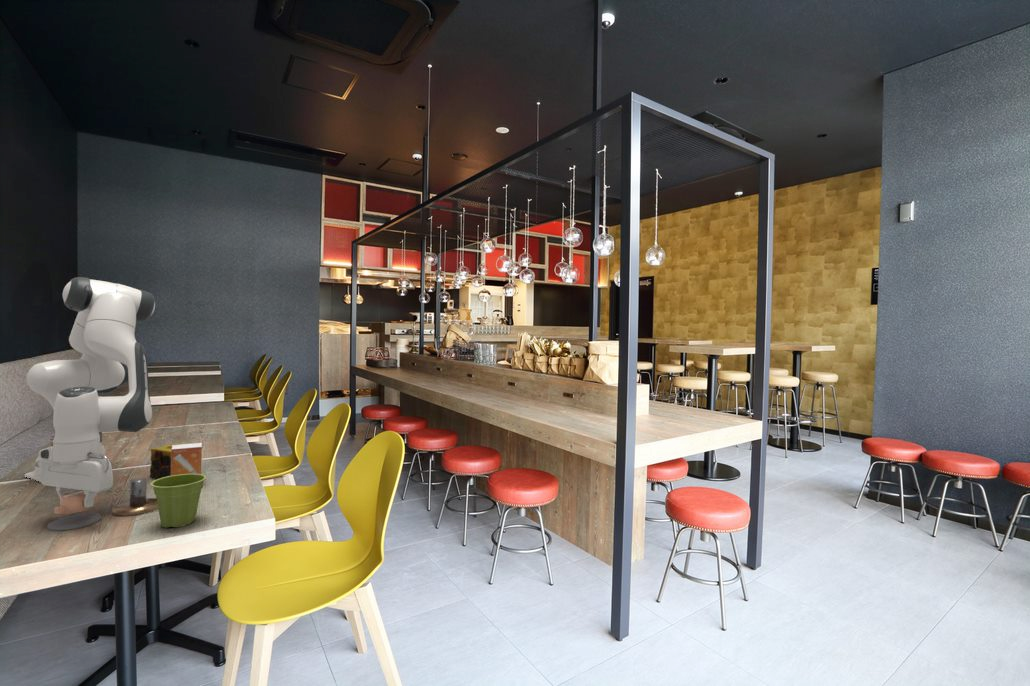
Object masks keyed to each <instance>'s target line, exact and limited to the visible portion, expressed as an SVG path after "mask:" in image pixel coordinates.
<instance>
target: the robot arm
mask: <svg viewBox="0 0 1030 686" xmlns="http://www.w3.org/2000/svg"><path fill="white" fill-rule="evenodd" d="M62 299H63V304H64V305H65V307H66V308H68V309H69V310H72V311H74V312H77V314H76V318H75V320H74V324H73V326H72V329H71V331H70V334H69V336H68V342H69V344H70V347H71V348H73V349H74V350H75V351H76V352H78V353H80V354H82V355H81V357H80V358H78V359H55V360H53V359H52V360H49V361H44V362H39V363H35V364H34V365H32V366H31V367H30V369H29V370H28V372H27V374H26V383H27V386H28V387H29V388H30V389H31V391H33V392H34V393H36V394H38V395H40V396H42V397H43V398H45V400H46V401H48V403H49V405H50V406H51V409H52V410H53V415H52V417H53V418H52V421H53V422H52V425H53V428H54V433H55V434H54V435H52V436H50V437H49V438H51V439H49V440H50V441H51V443H50V446H49V447H46V448H45V447H44V448H43V449H40V450H39V451H38V456H37V458H35V462H34V470H32V471H29V472H26V473H24V478H26V477H27V478H26V479H29V478H31V479H30V480H32V479H34V480H33V481H35V480H36V481H35V482H38V481H39V483H41V484H42V486H47V487H55V490H56V493H57V495H58V496H59V504H60V505H61V495H63V494H66V493H69V492H70V491H69V490H75V491H80V490H83V491H84V494H85V495H86V497H85V499H84V500H82V507H86V508H88V507H91V506H94V504H95V503H94V498H95V496H97V495H98V494H99V493H101V492H105V491H107V490H110V489H112V488H113V486H114V474H113V473H114V472H113V466H112V463H111V461H110V459H109V458H108V457H107V456H106V450H105V449H106V448H105V446H104V445H103V444H102V442H103V433H104V432H105V433H106V432H121V433H122V432H124V433H125V432H126V433H137V432H139V431H141V430H142V429H144V428H145V427H147V426H148V425H150V423H151V421H152V418H153V409H152V404H151V402H152V401H151V397H150V386H149V385H150V383H149V369H148V357H147V352H146V349H145V347H144V345H143V344H142V343H140V342H137V340H136V337H135V335H136V334H135V331H136V326H137V323H142V322H145V321H148V320H150V318H151V316H152V315H153V314H154V311H155V308H156V301H155V300H156V299H155V297H154V295H153V294H152V293H150V292H148V291H145V290H144V289H137V288H134V287H131V286H127V285H124V284H121V283H117V282H116V283H114V282H110V281H104V280H98V279H97V280H96V279H90V277H84V276H83V277H82V276H79V277H78V276H77V277H74V278H71V279H70V281H69V282H67V283H66V285H65V286H64V288H63V291H62ZM122 364H123V365H122ZM124 365H125V366H126V368H127V374H128V375H127V377H128V393H127V394H125V395H120V396H119V395H118V396H114V395H113V396H111V395H109V396H99V393H98V391H103V390H108V389H109V390H110V389H112V388H115V387H118V386H120V385H121V384H122V383H123V381H124V380H125V376H126V370H125V368H124Z"/></svg>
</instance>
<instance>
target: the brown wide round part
mask: <svg viewBox="0 0 1030 686" xmlns="http://www.w3.org/2000/svg"><path fill="white" fill-rule="evenodd" d="M156 509H157V510H158V504H157V499H156V498H155V497H153V498H152V497H149V498H148V497H147V478H145V477H144V478H143V477H140V478H132V479H131V480H129V500H128V501H125V502H122V503H121V502H120V503H119V504H117V505H115V506H113V507H112V508H111V514H112V515H113V516H115V515H116V516H115V517H133V515H134V516H139V515H140V516H141V515H144V513H145V514H149V513H152V512H154V510H155V511H157V510H156ZM151 511H152V512H151ZM148 512H149V513H148Z"/></svg>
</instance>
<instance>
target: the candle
mask: <svg viewBox="0 0 1030 686" xmlns="http://www.w3.org/2000/svg"><path fill="white" fill-rule="evenodd" d="M182 444H184V443H181V442H177V443H172V444H166V445H163V446H159V447H153V448H152V447H151V449H150V468H149V472H150V475H149V478H151V479H153V478H155V479H154V480H157V479H160V478H163V477H167V476H171V450H172V445H182Z"/></svg>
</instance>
